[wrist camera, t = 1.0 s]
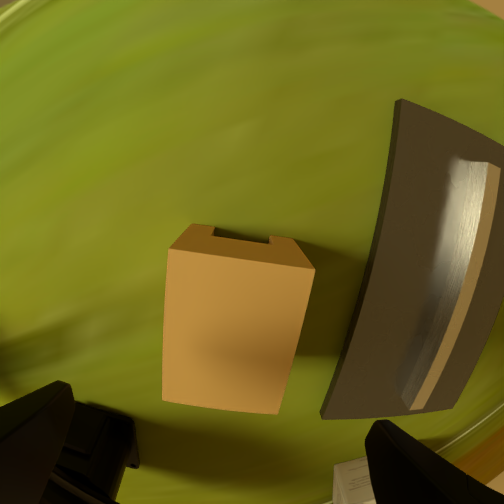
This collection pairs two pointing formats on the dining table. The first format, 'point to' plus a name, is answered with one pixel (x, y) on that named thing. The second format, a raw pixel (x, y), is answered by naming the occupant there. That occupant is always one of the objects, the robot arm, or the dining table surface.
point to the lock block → (232, 320)
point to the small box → (352, 483)
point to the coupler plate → (425, 272)
